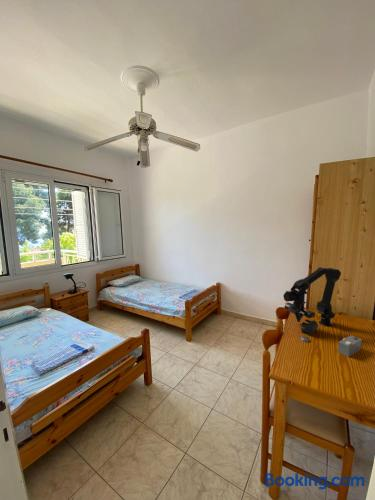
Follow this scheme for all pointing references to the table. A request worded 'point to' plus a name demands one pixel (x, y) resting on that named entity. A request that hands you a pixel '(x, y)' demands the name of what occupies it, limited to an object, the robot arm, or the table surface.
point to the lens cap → (304, 339)
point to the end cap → (309, 327)
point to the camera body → (349, 345)
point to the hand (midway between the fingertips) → (298, 321)
